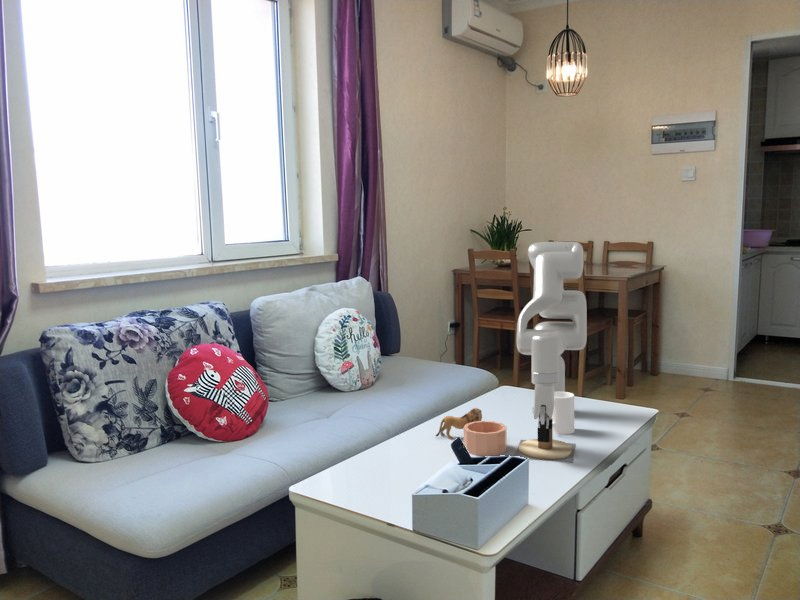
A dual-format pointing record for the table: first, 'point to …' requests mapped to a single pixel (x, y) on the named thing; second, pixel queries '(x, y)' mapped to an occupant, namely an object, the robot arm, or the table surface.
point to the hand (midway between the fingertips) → (545, 436)
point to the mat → (567, 459)
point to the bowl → (485, 438)
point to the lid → (545, 449)
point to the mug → (563, 413)
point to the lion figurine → (459, 421)
